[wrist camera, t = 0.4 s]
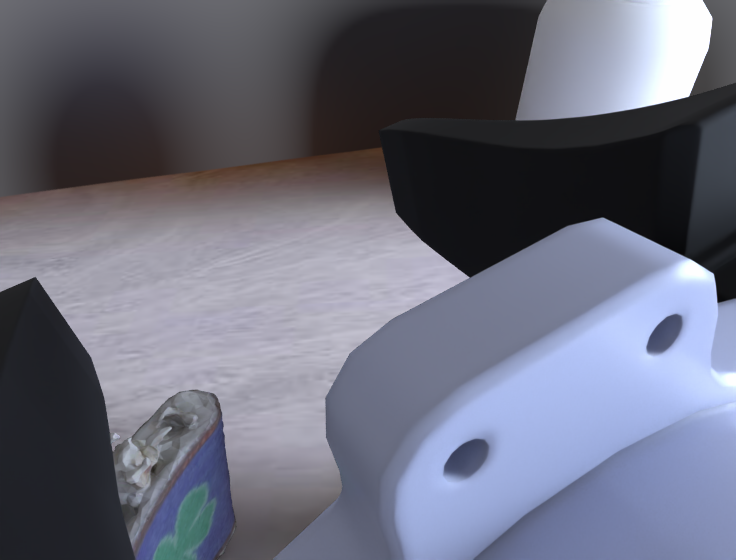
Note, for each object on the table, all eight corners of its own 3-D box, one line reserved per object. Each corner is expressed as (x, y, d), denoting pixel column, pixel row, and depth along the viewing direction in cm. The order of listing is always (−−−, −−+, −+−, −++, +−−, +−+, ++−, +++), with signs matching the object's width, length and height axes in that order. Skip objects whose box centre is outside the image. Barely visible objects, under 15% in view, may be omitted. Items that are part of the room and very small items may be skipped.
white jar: (491, 218, 51) (548, -40, 39) (509, 156, 61) (560, -68, 48) (642, 251, 49) (756, -14, 36) (637, 180, 58) (726, -49, 45)
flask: (146, 729, 22) (73, 605, 16) (77, 704, 23) (-23, 574, 16) (248, 510, 29) (227, 360, 23) (193, 494, 30) (157, 342, 23)
